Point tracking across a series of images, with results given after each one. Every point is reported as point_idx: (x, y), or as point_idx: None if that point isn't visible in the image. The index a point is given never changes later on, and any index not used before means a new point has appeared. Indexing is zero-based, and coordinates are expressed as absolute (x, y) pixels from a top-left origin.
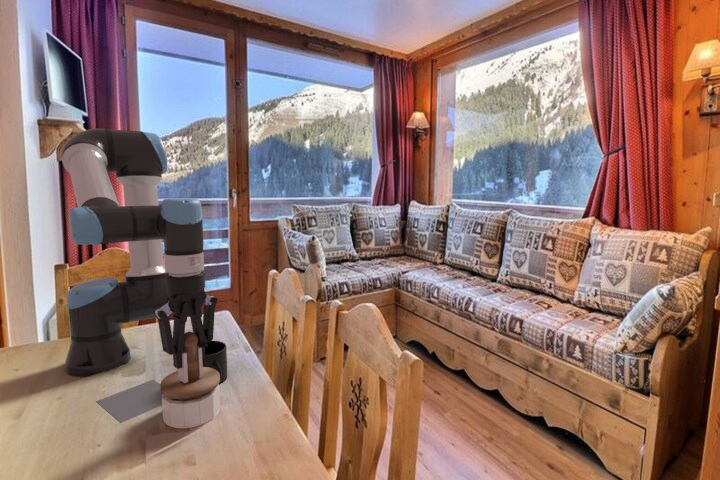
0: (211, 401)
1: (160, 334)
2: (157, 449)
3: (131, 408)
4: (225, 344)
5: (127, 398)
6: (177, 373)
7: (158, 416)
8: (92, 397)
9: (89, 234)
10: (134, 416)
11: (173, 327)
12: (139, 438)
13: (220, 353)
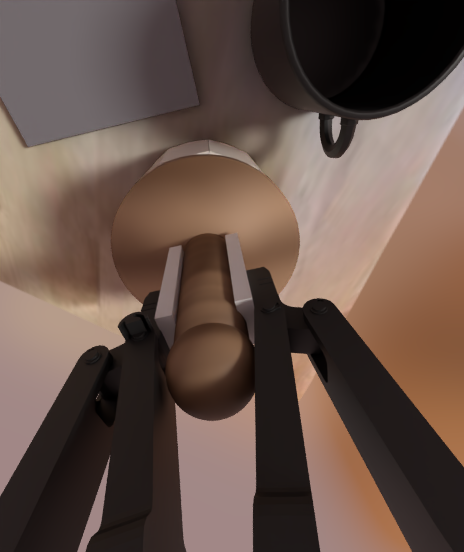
0: None
1: (25, 456)
2: (120, 283)
3: (48, 74)
4: None
5: None
6: (179, 184)
7: (130, 164)
8: None
9: None
10: (63, 136)
11: (110, 463)
12: (85, 231)
13: (395, 111)
